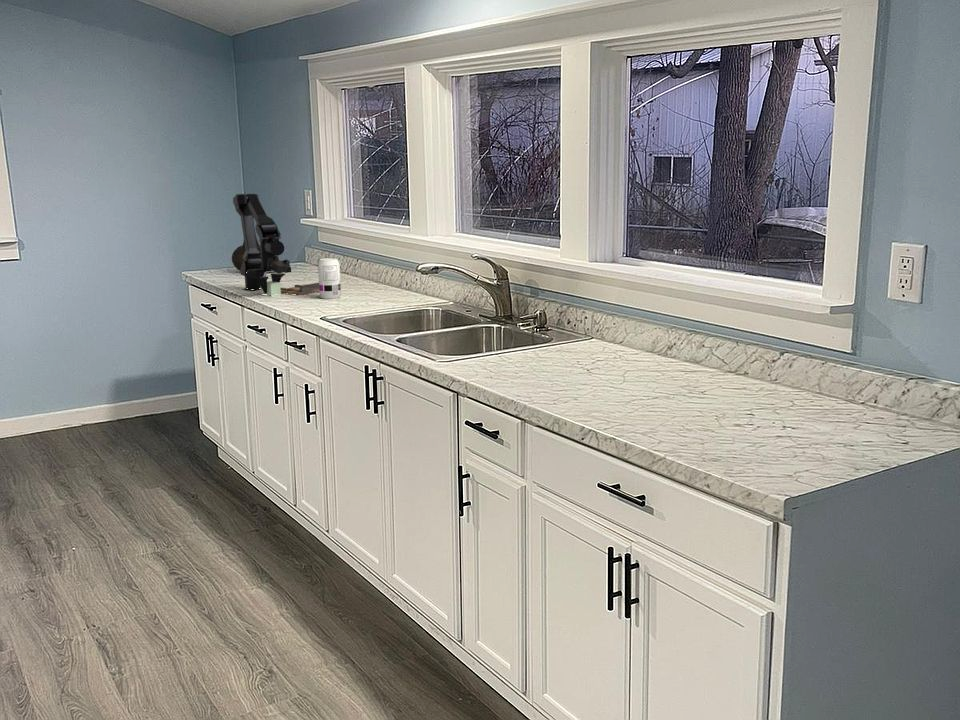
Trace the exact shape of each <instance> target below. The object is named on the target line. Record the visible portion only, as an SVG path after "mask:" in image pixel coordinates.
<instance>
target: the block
mask: <svg viewBox="0 0 960 720" xmlns="http://www.w3.org/2000/svg"><path fill="white" fill-rule="evenodd" d="M260 287H261V286H260ZM280 287H281V281H280V282H272V280H271V281H267V293H264V291H263V290H262V288H261V289H260V295H261V294H267V295H275V294H281V289H280ZM281 295H282V294H281Z"/></svg>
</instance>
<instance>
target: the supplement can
mask: <svg viewBox="0 0 960 720" xmlns="http://www.w3.org/2000/svg"><path fill="white" fill-rule="evenodd" d="M338 259H339V258H336V257H335V258H334V257H332V258H331V257H330V258H328V257H327V258H320V259H319V260H318V263H317V267H318V269H317V271H318V272H317V273H318V283H319V291H320V292H319V297H320V298H321V299H322V298H324V299H323V300H336V298H337V299H340V298H339V297H341V296H342V287H341V286H342V285H341V267H340V261H339V260H338Z"/></svg>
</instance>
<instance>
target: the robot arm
mask: <svg viewBox="0 0 960 720" xmlns="http://www.w3.org/2000/svg"><path fill="white" fill-rule="evenodd" d="M259 199H260V198H259V195H258V194H257V193H236V194H235V196H233V197H232V204H233V206H234V209H235V211H236V213H237V214H238V215H239V216H240V222H241V229H242V235H243V242H244V243H245V250H246V252H245V254H244V256H243V262H242V266H241V269H240V271H239V272H240V275H241V276H244V284H245V285H244V286H245V287H244V288H248V289H259V288H262V290H263V291H264V293H267V282H268V279H269V276H267V274H270V277H271V282H280V283H281V280H282V278H283V277H284V276H286V274H287V273H288V274H289V273H292V267H291V263H290V260H289V259H283V260H280V259H279V256H280V255H281V256H282V254H283V253H284V252H285V245H284V243H283V242H282V241H280V240H281V237H282V236H281V231H280V230H279V227H278V225H277V224H276V222H275V221H274V219H273V218H272V217H270V216H268V215H267V213H266V211H265V209H264V208H263V205H262V203H261V202H260V200H259ZM252 215H253V217H254V218H253V217H252ZM254 220H255V222H256V224H255V223H254V224H253V221H254ZM254 228H255V231H254ZM255 233H256V235H257V236H258V237H259V238H258V242H259V245H260V249H261V253H260V252H259V251H258V250H257V244H256V238H257V236H256V237H255ZM246 272H247V273H246ZM260 286H261V287H260ZM259 290H260V289H259Z"/></svg>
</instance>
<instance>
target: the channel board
mask: <svg viewBox="0 0 960 720" xmlns="http://www.w3.org/2000/svg"><path fill="white" fill-rule="evenodd" d="M280 289H281V293H288V294H296V295H295V296H298V295H302V296H305V295H304V294H307V295H310V294H309V293H313V294H316V293H315V292H318V293H320V291H319V282H314V283H309V284H294V286H293V287H281V286H280ZM288 294H287V295H288Z"/></svg>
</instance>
